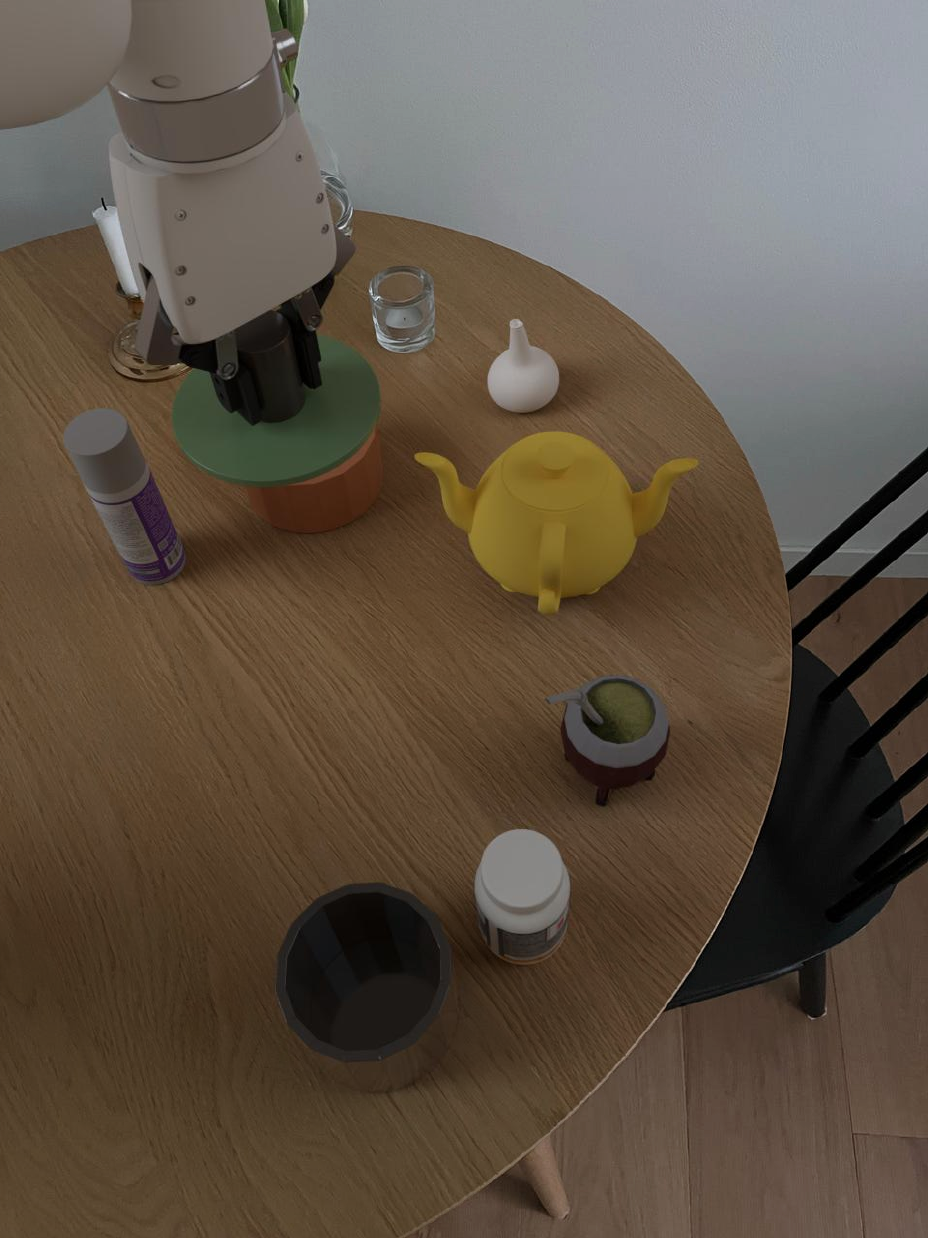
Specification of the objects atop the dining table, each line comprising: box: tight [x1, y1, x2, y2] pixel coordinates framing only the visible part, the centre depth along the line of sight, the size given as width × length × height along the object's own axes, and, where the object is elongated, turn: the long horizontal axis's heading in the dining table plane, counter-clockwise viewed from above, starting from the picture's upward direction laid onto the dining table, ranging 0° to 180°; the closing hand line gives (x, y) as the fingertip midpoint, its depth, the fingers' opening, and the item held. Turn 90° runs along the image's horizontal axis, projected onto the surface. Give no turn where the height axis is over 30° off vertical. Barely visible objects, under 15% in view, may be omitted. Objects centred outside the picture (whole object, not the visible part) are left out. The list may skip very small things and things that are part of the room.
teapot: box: [414, 430, 700, 616], centre depth 79 cm, size 20×15×12 cm
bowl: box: [242, 423, 384, 534], centre depth 87 cm, size 12×12×6 cm
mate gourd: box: [544, 674, 671, 807], centre depth 67 cm, size 8×8×15 cm
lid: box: [171, 309, 382, 487], centre depth 62 cm, size 13×13×7 cm
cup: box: [274, 881, 460, 1094], centre depth 62 cm, size 10×10×9 cm
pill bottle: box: [474, 828, 572, 966], centre depth 64 cm, size 6×6×10 cm
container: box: [62, 407, 187, 586], centre depth 79 cm, size 5×5×15 cm
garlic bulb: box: [487, 318, 560, 414], centre depth 91 cm, size 6×6×8 cm
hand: (273, 391), depth 63 cm, fingers closed on lid, 3 cm apart
